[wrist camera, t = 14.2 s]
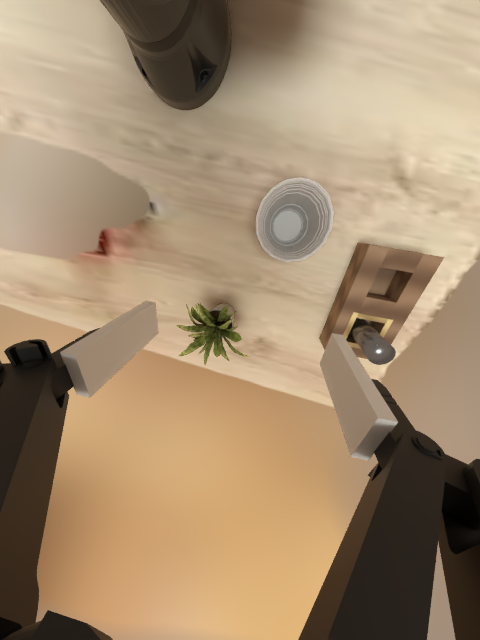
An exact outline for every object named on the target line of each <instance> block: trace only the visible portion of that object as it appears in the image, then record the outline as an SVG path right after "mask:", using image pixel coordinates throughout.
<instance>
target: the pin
mask: <svg viewBox="0 0 480 640" xmlns="http://www.w3.org/2000/svg"><path fill="white" fill-rule="evenodd" d="M350 334H351V336H352V337H353V338H354V340H355V341H356V343H357V344H358V345H359V347H360V348H361V350H362V351H363V352H364V354H365V355H366V357H367V358H368V359H369V361H370V362H372V363H374V364H378V365H381V364H386V363H388V362H390V361H391V360H393V358H394V357H395V349H394V348H393V347H392V346H391V345H390V344H389V343H388V342H387V341H386V340H385V339H384V338H383V337H382V336H381V335H380V334H379V333H378V332H377V331H376V330H375V329H374V328H373V327H372V326H371V325H370V324H369V323H368V322H367V321H366V320H365V319H360V318H356V320H355V322H354V324H353V326H352V328H351V330H350Z"/></svg>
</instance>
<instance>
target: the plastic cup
mask: <svg viewBox="0 0 480 640" xmlns="http://www.w3.org/2000/svg"><path fill="white" fill-rule="evenodd" d="M333 215H334V210H333V206H332V203H331V199H330V196H329V194H328V193H327V192H326V191H325V190H324V189H323V187H322V186H321V185H320V184H319V183H317V182H315V181H312V180H309V179H307V178H304V177H301V178H291V179H286V180H284V181H283V182H281V183H279V184H277V185H276V186H274V187H272V188H271V190H270V191H269V192H268V193H267V195H266V196H265V197H264V198H263V200H262V201H261V203H260V206H259V209H258V212H257V215H256V235H257V237H258V240H259V242H260V244H261V247H262V248H263V249H264V250H265V251H266V252H267V253H268V254H269V255H270V256H271V257H273V258H275V259H278V260H280V261H283V262H298V261H301V260H303V259H305V258H308V257H310V256H312V255H314V254H315V253H316V252H317V251H318V250H319V249H320V248H321V247H322V246H323V245H324V244H325V242H326V240H327V238H328V236H329V234H330V232H331V230H332V225H333Z"/></svg>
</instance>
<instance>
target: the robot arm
mask: <svg viewBox="0 0 480 640" xmlns="http://www.w3.org/2000/svg"><path fill="white" fill-rule="evenodd" d="M100 1H101V2H102V4H103V5H104V6H105V8H106V9H107V10H108V11H109V13H110V14H111V15H112V17H113V18H114V19H115V21H116V22H117V23H118V24H119V26H120V27H121V28H122V30H123V31H124V34H125V36H126V39H127V41H128V43H129V46H130V48H131V51H132V54H133V56H134V58H135V61H136V63H137V66H138V68H139V70H140V72H141V73H142V75H143V77H144V78H145V80H146V81H147V83H148V84H149V86H150V87H151V88H152V89H153V90H154V91H155V93H156V94H157V95H158V96H159V97H160V98H161V99H162V100H163V101H164V102H166V103H167V104H169V105H171V106H172V107H175V108H178V109H193V108H196V107H199V106H201V105H202V104H204V103H205V102H206V101H208V100H209V99H210V98H211V97H212V96H213V94H214V93H215V92H216V90H217V89H218V87H219V85H220V83H221V82H222V79H223V77H224V74H225V72H226V69H227V65H228V61H229V56H230V48H231V23H230V16H229V10H228V5H227V0H100ZM157 334H158V324H157V313H156V303H155V302H150V301H145V302H143V303H142V304H140V305H138V306H137V307H135V308H133V309H131V310H130V311H128V312H126V313H125V314H123V315H121V316H120V317H118V318H116V319H115V320H113V321H111V322H110V323H108V324H106V325H105V326H103V327H101V328H98V329H95V330H93V331H90V332H88V333H87V334H85V335H83V336H82V337H80V338H78V339H76V340H75V341H73V342H71V343H69V344H67V345H66V346H64V347H62V348H61V349H59V350H57V351H56V352H54V353H52V354H51V352H50V350H49V347H48V345H47V343H46V341H44V340H39V339H38V340H37V339H36V340H28V341H23V342H20V343H17V344H14V345H12V346H11V347H9V348H7V349H6V350H5V351H4V352H5V354H6V355H7V357H8V359H9V360H10V362H11V363H9V364H2V363H1V361H0V640H112V638H111V637H110V636H108V635H106V634H105V633H103V632H101V631H99V630H98V629H96V628H94V627H92V626H91V625H89V624H87V623H84V622H81V621H78V620H75V619H72V618H69V617H66V616H63V615H60V614H57V613H54V612H51V611H49V610H48V611H47V613H46V614H45V616H44V618H43V619H42V621H39V622H37V623H35V622H36V616H37V610H38V601H39V588H38V582H37V565H38V559H39V554H40V548H41V543H42V537H43V532H44V526H45V522H46V516H47V511H48V505H49V500H50V495H51V490H52V484H53V479H54V474H55V468H56V463H57V458H58V452H59V447H60V442H61V436H62V431H63V426H64V420H65V415H66V410H67V404H68V399H69V394H68V392H67V391H68V390H70V389H71V388H72V387H73V386H74V389H75V391H76V394H77V395H81V396H85V397H91V396H92V395H94V394H95V393H96V392H97V391H98V390H99V389H100V388H101V387H102V386H103V385H104V384H105V383H106V382H107V381H108V380H109V379H111V377H113V376H114V375H115V373H117V372H118V371H119V370H120V369H121V368H122V367H123V366H124V365H125V364H126V363H127V362H128V361H130V360H131V359H132V358H133V357H134V356H135V355H136V354H137V353H138V352H139V351H140V350H141V349H142V348H143V347H144V346H145V345H147V344H148V343H149V342H150V341H151V340H152V339H153V338H154V337H155V336H156V335H157ZM320 366H321V369H322V372H323V375H324V378H325V381H326V384H327V386H328V389H329V392H330V395H331V398H332V401H333V404H334V407H335V410H336V413H337V416H338V419H339V422H340V425H341V428H342V431H343V434H344V437H345V440H346V443H347V446H348V449H349V452H350V455H351V457H355V458H360V459H364V460H369V459H370V457H371V456H372V455H373V454H374V453H375V455H376V457H377V460H378V464H377V465H376V466H375V467H374V468H373V470H372V471H371V472H370V473H369V474H368V476H369V477H370V479H369V482H368V484H367V486H366V488H365V491H364V493H363V495H362V497H361V500H360V502H359V504H358V506H357V509H356V511H355V513H354V515H353V518H352V520H351V522H350V524H349V527H348V529H347V531H346V533H345V536H344V538H343V540H342V542H341V545H340V547H339V549H338V551H337V554H336V556H335V558H334V560H333V563H332V565H331V567H330V569H329V572H328V574H327V576H326V578H325V581H324V583H323V585H322V587H321V590H320V592H319V595H318V597H317V599H316V601H315V603H314V606H313V608H312V610H311V612H310V614H309V617H308V619H307V621H306V624H305V626H304V628H303V630H302V633H301V635H300V637H299V640H427V633H428V624H429V615H430V607H431V597H432V589H433V580H434V571H435V563H436V554H437V545H438V541H439V547H440V553H441V558H442V564H443V570H444V576H445V581H446V586H447V593H448V598H449V604H450V610H451V615H452V621H453V627H454V632H455V638H456V640H480V459H476V460H474V461H472V462H471V463H470V464H469V465H468V464H466V463H464V462H461V461H459V460H457V459H455V458H453V457H450V456H448V455H446V454H445V453H444V452H443V450H442V449H441V448H440V447H439V446H438V444H437V443H436V442H435V441H433V440H432V439H431V438H429V437H428V436H426V435H425V434H423V433H421V432H419V431H416V430H415V429H414V427H413V426H412V425H411V423H410V422H409V420H408V419H407V417H406V416H405V415H404V413H403V411H402V410H401V409H400V407H399V406H398V405H397V403H396V401H395V400H394V399H393V398H392V396H391V394H390V393H389V391H388V390H387V388H386V387H384V386H383V385H382V384H381V383H380V382H379V381H378V380H374V379H371V378H370V377H369V375H368V374H367V372H366V370H365V369H364V367H363V366H362V364H361V363H360V361H359V359H358V358H357V356H356V355H355V353H354V352H353V350H352V348H351V347H350V345H349V344H348V342H347V340H346V339H345V337H344V336H343V335H340V334H334V333H332V334H331V337H330V339H329V342H328V344H327V347H326V349H325V352H324V354H323V357H322V359H321V362H320Z"/></svg>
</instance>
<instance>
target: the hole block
mask: <svg viewBox="0 0 480 640" xmlns="http://www.w3.org/2000/svg"><path fill="white" fill-rule="evenodd" d="M443 258H444V257H439V256H433V255H427V254H421V253H416V252H410V251H404V250H398V249H392V248H387V247H381V246H375V245H369V244H362V243H358V244H357V247H356V249H355V252H354V254H353V257H352V259H351V262H350V264H349V267H348V269H347V272H346V274H345V277H344V279H343V282H342V284H341V287H340V289H339V292H338V294H337V296H336V299H335V301H334V304H333V306H332V309H331V311H330V314H329V316H328V319H327V321H326V324H325V326H324V329H323V331H322V334H321V336H320V340H321V343H322V345H323V347H324V350H325V349H326V347H327V344H328V342H329V339H330V337H331V334H332V333H334V334H340V335H343V336H344V337H345V339H346V340H347V342H348V344H349V345H350V347H351V348H352V350H353V352H354V353H355V355H356V356H357V357H360V358H365V359H368V358H367V357H366V355H365V354H364V352H363V351H362V350H361V348H360V347H359V345H358V344H357V343H356V341H355V340H354V338H353V337H352V336H351V334H350V330H351V328H352V326H353V324H354V322H355V320H356V318H360V319H365V320H366V321H367V322H368V323H369V324H370V325H371V326H372V327H373V328H374V329H375V330H376V331H377V332H378V333H379V334H380V335H381V336H382V337H383V338H384V339H385V340H386V341H387V342H388V343H389V344H390V345H391V344H392V342H393V340H394V339H395V337H396V335H397V334H398V332H399V330H400V329H401V327H402V326H403V324H404V322H405V321H406V319H407V317H408V316H409V314H410V312H411V311H412V309H413V308H414V306H415V304H416V303H417V301H418V299H419V298H420V296H421V294H422V293H423V291H424V290H425V288H426V286H427V285H428V283H429V281H430V280H431V278H432V276H433V275H434V273H435V272H436V270H437V268H438V267H439V265H440V263H441V262H442V260H443Z"/></svg>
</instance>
